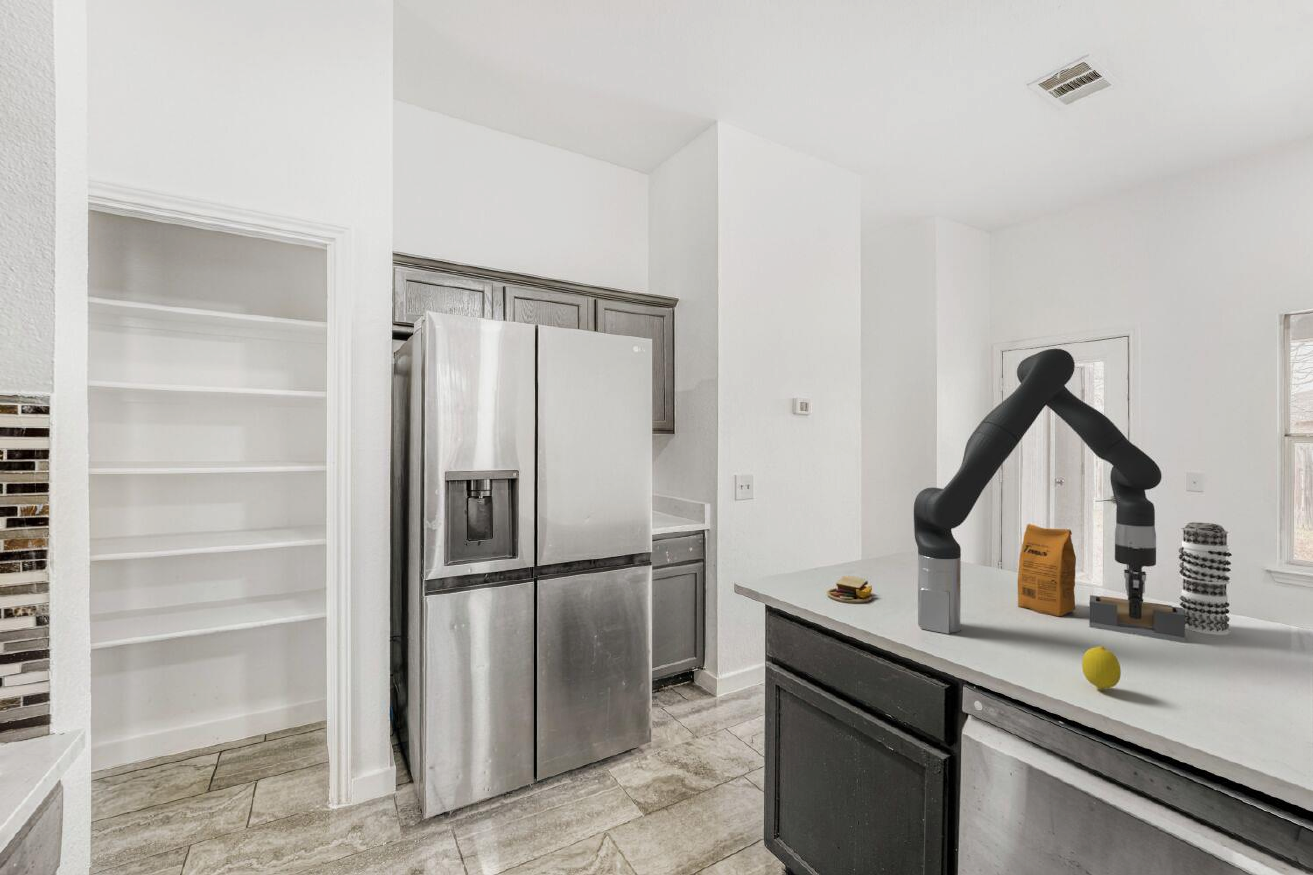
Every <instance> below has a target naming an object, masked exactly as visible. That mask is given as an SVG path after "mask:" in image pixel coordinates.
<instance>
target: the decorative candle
mask: <svg viewBox="0 0 1313 875" xmlns="http://www.w3.org/2000/svg"><path fill="white" fill-rule="evenodd" d="M1181 530H1182V532H1183V533H1182V540H1181V547H1180V548H1178V553H1179V555H1178V559H1179V560H1180V561H1182V562H1180V563H1179V567H1180V568H1181V569H1179V572H1178V573H1179V574H1180V576H1179V577H1180V578H1181V579H1182V588H1181V596H1180V597H1179V600H1181V601H1182V602H1180V603H1179V607H1181V608H1182V609H1183V611H1184V614H1185V630H1188V631H1191V632H1195V633H1199V634H1206V635H1214V636H1227V635H1228V634H1230V631H1229V630H1228V629H1229V628H1230V624H1229V622H1230V617H1229V616H1228V615H1227V614H1229V613H1230V610H1229V609H1228V607H1230V603H1229V602H1228V601H1229V600H1228V598H1229V597H1228V594H1227V585H1229V584H1230V580H1231V578H1230V577H1229V576H1228V575H1227V573H1229V572H1231V571H1232V570H1231V568H1229V567H1228V566H1231V564H1232V562H1231V561H1229V560H1228V559H1227V558H1230V557H1231V556H1232V555H1233V554H1232V553H1230V552H1229V551H1230V549H1229V545H1228V543H1227V541H1228V534H1229V531H1227V530H1225V528H1224V527H1223V526H1222V525H1221V524H1218V523H1210V522H1188V523H1187V524H1186V525H1185V527H1182V528H1181Z"/></svg>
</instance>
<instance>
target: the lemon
mask: <svg viewBox="0 0 1313 875" xmlns="http://www.w3.org/2000/svg"><path fill="white" fill-rule="evenodd" d="M1081 669H1082V673H1083V675H1084V677H1085V679H1086V680H1087V681H1088V682H1089V683H1090V684H1091V685H1093V686H1095V687H1096V688H1097V689H1098V690H1099V691H1105V690H1106V689H1110V688H1113V687H1116V685H1117V684H1118V683H1119V681H1120V679H1121V676H1122V675H1121V673H1122V670H1121V665H1120V662H1119V660H1118V657H1117V656H1116V655H1115V654H1114V653H1113V652H1111V651H1110V650H1108V649H1106V648H1105V647H1104V646H1102V645H1099V646H1097V647H1091V648H1090V649H1087V651H1086V652H1084V655H1083V658H1082V662H1081Z"/></svg>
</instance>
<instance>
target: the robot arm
mask: <svg viewBox="0 0 1313 875" xmlns="http://www.w3.org/2000/svg"><path fill="white" fill-rule="evenodd" d="M1075 367H1076V366H1075V359H1074V357H1073V356H1072V354H1071V353H1070V352H1069V351H1067V350H1065V349H1061V348H1048V349H1045V350H1042V351H1039V352H1037V353H1035V354H1032V355H1030V356H1028V357H1026V358H1024V359H1023V360H1021V361H1020V363H1019V364H1018V365H1017V369H1016V377H1017V379H1018V382H1019V383H1020V384H1019V385H1018V386H1017V388H1016V389H1015V391H1013V392H1012V393H1011V394H1009V396H1008V397H1007V398H1006V399H1004V400H1003V401H1002V402H1000V403H999V404H998V405H997V406H996V407H995V408H994V409H992V410H991V411H990V412H989V413H988V414H987V415H986V416H985V417H984V418H983V419H982V421H980V422H979V425H978V426H977V427H976V428H975V429H974V430H973V432H972V434H970V436H969V438H968V440H967V442H966V444H965V449H964V452H963V456H962V461H961V465H960V466H959V469H958V471H957V472H956V473H955V475H954V476H953V477H952V478H951V480H950V481H949V482H948V483H947V485H945V487H943V488H939V487H927V488H924V489H922V490H921V491H919V493H918V494H917V495H916V497H915V500H914V503H913V530H914V531H913V532H914V540H915V543H916V545H917V624H918V626H919V627H920V629H922V630H926V631H927V630H928V631H933V632H937V633H942V634H951V633H956V632H959V631H961V617H962V616H961V613H962V612H961V606H962V605H961V602H962V601H961V599H962V598H961V597H962V596H961V585H962V584H961V583H962V582H961V577H962V576H961V571H962V561H961V559H962V557H961V556H962V554H961V553H962V548H961V545H960V544H959V543H958V542H957V540H956V539H955V538H954V535H953V533H952V529H955V528H957V527H959V526H960V525H962V524H963V523H964V522H965V521H966V519H967V518H968V517H969V514H970V513H971V511H972V510H973V508H974V506H975V504H976V503H977V501H978V499H979V498H980V496H981V494H982V492H983V491H984V489H985V488H986V486H987V485H988V484H989V483H990V481H991V480H992V479H993V477H994V476H995V474H996V473H997V471H998V470H999V468H1001V466H1002V465H1003V464H1004V462H1005V461H1006V460H1007V459H1008V458H1009V457H1010V455H1011V453H1012V452H1013V451H1014V449H1015V448H1016V447H1017V446H1018V444H1020V442H1021V440H1022V438H1023V437H1024V435H1026V433H1027V432H1028V431H1029V429H1030V428H1031V427H1032V425H1033V424H1034V422H1035V421H1036V419H1037V418H1038V416H1039V415H1040V413H1041V412H1042V411H1043V410H1044V408H1045V407H1048V408H1049V409H1050V410H1052V412H1054V414H1056V415H1057V417H1058V416H1059V417H1060V418H1061V419H1062V421H1064V422H1065V423H1066V424H1067V425H1068V426H1069V427H1070V428H1071V429H1072V430H1073V431H1074V432H1075V433H1076V435H1078V436H1079V438H1080V439H1081V440H1082V441H1083V442H1084V443H1085V444H1086V446H1088V448H1089V449H1090V450H1091V451H1092V453H1094V454H1095V455H1096V456H1097V457H1098V458H1099V459H1101V460H1103V461H1105V462H1108V463H1109V464H1111V465H1112V468H1111V470H1110V475H1109V476H1110V478H1109V480H1110V485H1111V490H1112V494H1113V498H1114V501H1115V503H1116V512H1115V514H1116V515H1115V516H1116V517H1115V522H1116V523H1115V528H1114V560H1115V562H1117V563H1118V564H1122V565H1128V568H1127V569H1123V574H1124V575H1123V577H1124V580H1125V591H1126V592H1127V594H1126V595H1127V600H1129V617H1130V618H1134V619H1141V604H1142V602H1144V599H1143V598H1144V597H1143V596H1144V595H1143V594H1145V592H1146V581H1147V572H1146V571H1143V569H1142V568H1143V567H1148V568H1149V567H1154V566H1156V565H1157V532H1156V510H1155V505H1154V503H1153V502H1152V501H1150V500H1149V499H1148V498H1147V494H1146V491H1148V490H1152V489H1155V488H1156V487H1158V486H1159V484H1160V483H1161V481H1162V477H1163V476H1162V471H1161V469H1160V467H1159V465H1158V464H1157V463H1156V462H1155V461H1154V460H1153V459H1152V458H1151V456H1149V455H1148V454H1147V453H1145V452H1144V451H1143V450H1142V449H1140V448H1139V447H1137V446H1136V445H1135V444H1134V443H1132V442H1131V441H1129V440H1128V438H1127V437H1126V435H1124V434H1123V432H1121V430H1120V429H1119V428H1118V427H1117V426H1116V425H1115V423H1114V422H1113V421H1111V419H1109V418H1108V417H1107V416H1106V415H1104V414H1103V413H1102V412H1100V411H1099V410H1098V409H1096V408H1094V407H1092V406H1090V405H1089V404H1088V403H1086V402H1084V401H1083V400H1081V399H1080V398H1078V397H1077V396H1076V395H1075V394H1073V392H1071V391H1070V390H1069V389H1068V388H1067V387H1066V385H1067V384H1068V382H1069V381H1070V380H1071V379H1072V377H1073V376H1074V372H1075Z"/></svg>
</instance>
